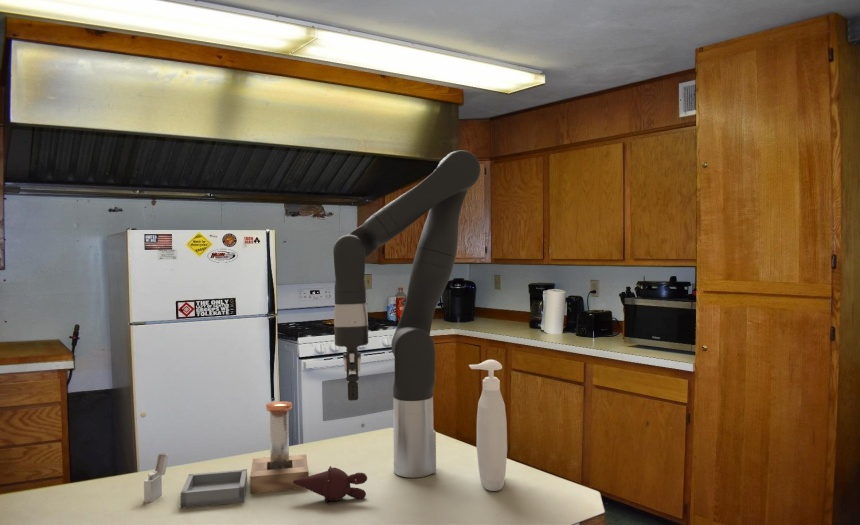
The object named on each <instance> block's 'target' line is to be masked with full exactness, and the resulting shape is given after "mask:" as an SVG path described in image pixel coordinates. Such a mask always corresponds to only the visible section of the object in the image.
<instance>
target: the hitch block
mask: <svg viewBox="0 0 860 525" xmlns="http://www.w3.org/2000/svg"><path fill="white" fill-rule="evenodd" d="M251 463H252V464H251V470H250V478H249V479H250V480H249V483H250V485H249V486H250V491H249V493H250V494H258V493H259V494H260V493H267V492H278V491H279V492H280V491H287V490H288V491H289V490H299V489H304V488H303V487H301V486H298V485H296V484H294V483H293V481H294V480H297V479H300V478H304V477H307V476H309V465H308V458H307V454H305V453H304V454H293V455H289V468H286V469H274V470H271V467H270V456H269V457H257V458H252V462H251Z"/></svg>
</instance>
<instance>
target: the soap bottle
mask: <svg viewBox="0 0 860 525" xmlns="http://www.w3.org/2000/svg"><path fill="white" fill-rule="evenodd" d="M468 367H469V368H470V369H471V370H484V371H488V376H485V377H484V379H482V391H481V395H480V398H479V400H478V403H477V413H476V456H477V465H478V473H479V478H480V482H481V484H482V486H483V488H484V489H486V490H487V491H492V492H495V491H496V492H497V491H500V490H502V488H503V487H504V484H505V480H506V479H505V477H506V472H507V459H508V458H507V457H508V456H507V455H508V432H507V431H508V428H507V427H508V426H507V412H506V404H505V402H504V399H503V396H502V392H501V389H500V388H501V385H500V383H501V382H500V379H499V378H498V377H496V376H494V374H495V372H494V371H499V370H502V369H503V365H502V363H500V362H499V361H497V360H496V359H487V360H484V361H482V362H481V363H478V364H477V363H476V364H468Z"/></svg>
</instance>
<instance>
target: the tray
mask: <svg viewBox="0 0 860 525" xmlns="http://www.w3.org/2000/svg"><path fill="white" fill-rule="evenodd" d="M247 487H248V469H247V468H246V469H245V468H244V469H234V470H224V471H213V472H212V471H211V472H200V473H189V474H188V475H187V478H186V480H185V483H184V485H183V487H182V489H181V491H180V509H187V508H198V507H208V506H218V505H227V504H228V505H229V504H238V503H239V504H240V503H244V502H245V499H246V493H247V492H246V491H247Z"/></svg>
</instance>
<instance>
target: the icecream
mask: <svg viewBox="0 0 860 525" xmlns="http://www.w3.org/2000/svg"><path fill="white" fill-rule="evenodd" d="M366 481H368V476H367V474H366V473H364V472H355V473H352V474H350V475H348V474H347V473H346V472H345V471H344V470H342V469H340V468H337V467H332V466H329V467H328V469H327V470H325V471H322V472H318V473H315V474H311V475H308V476H307V477H304V478H300V479H297V480H294V481H293V483H294V484H296V485H298V486H301V487H303V488H302V489H306V490H308V491H310V492H312V493H314V494H317V495H319V496H322V497H324V503H325V504H326V503H327V502H328V501H330V502H333V501H339V500H341V499H343V498H344V497H345V496H346V495H347V496H349V497H350V498H353V499H355V500H356V499H357V500H358V499H365V497H366V495H367V493H366V491H365V489H362V488H359V487H355V486H354V487H353V486H351V484H353V485H356V486H357V485H362V484H364V483H366Z"/></svg>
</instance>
